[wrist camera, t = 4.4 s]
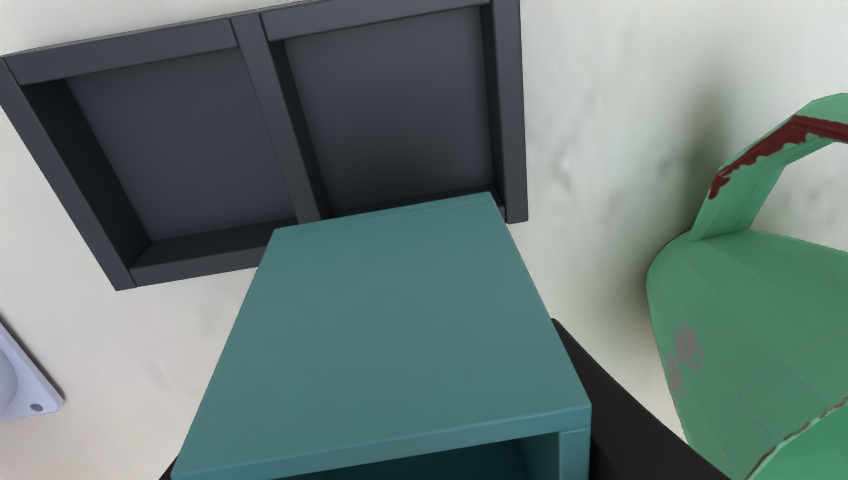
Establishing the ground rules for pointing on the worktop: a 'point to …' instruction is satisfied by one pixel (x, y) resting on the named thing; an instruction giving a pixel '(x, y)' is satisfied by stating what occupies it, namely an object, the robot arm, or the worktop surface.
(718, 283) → the mug
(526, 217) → the divided tray
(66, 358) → the worktop surface
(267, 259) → the tub
